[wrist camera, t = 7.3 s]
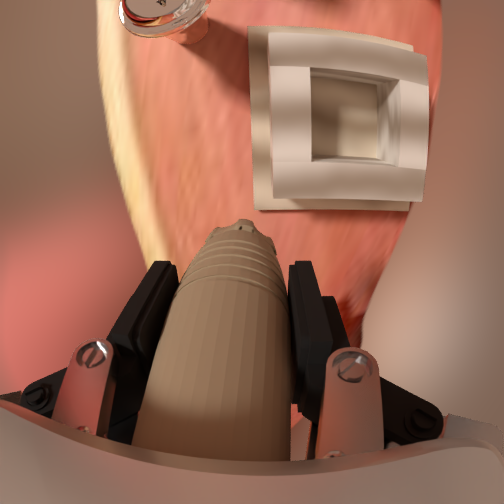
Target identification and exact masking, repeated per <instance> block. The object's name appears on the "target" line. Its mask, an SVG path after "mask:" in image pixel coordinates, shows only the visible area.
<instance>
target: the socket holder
mask: <svg viewBox="0 0 504 504" xmlns="http://www.w3.org/2000/svg"><path fill="white" fill-rule="evenodd" d="M247 27H248V52H249V78H250V105H251V132H252V160H253V190H254V210H293V209H337V210H388V211H409V206H410V201H412V202H422V200H423V194H424V186H425V176H426V166H427V154H428V136H429V86H428V68H427V56H425V55H422V54H419V53H415V52H413V46H412V45H409V44H405V43H401V42H397V41H393V40H389V39H385V38H380V37H376V36H371V35H365V34H360V33H354V32H348V31H341V30H333V29H324V28H313V27H298V26H247Z"/></svg>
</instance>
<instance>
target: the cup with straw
mask: <svg viewBox="0 0 504 504" xmlns="http://www.w3.org/2000/svg"><path fill="white" fill-rule="evenodd" d="M210 2H211V0H120V3H119V10H118V11H119V18H120V20H121V22H122V24H123V25H124V27H125V28H126V29H127V30H128V31H129V32H131V33H132V34H134V35H136V36H139V37H144V38H160V37H167V38H169V39H171V40H173V41H176V42H178V43H180V44H193V43H196V42H198V41H199V40H201V39H202V38H203V37H204V36H205V35H206V33H207V31H208V28H209V24H208V19H207V13H206V9H207V8H208V6H209V4H210Z"/></svg>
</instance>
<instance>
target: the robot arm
mask: <svg viewBox="0 0 504 504" xmlns="http://www.w3.org/2000/svg"><path fill="white" fill-rule="evenodd" d="M178 285H179V280H178V275H177V269H176V266H175V265H172V264H171V262H170V261H154V263H153V264H152V266H151V267H150V269H149V270H148V272H147V273H146V275H145V277H144V278H143V280H142V281H141V283H140V285H139V286H138V288H137V289H136V291H135V293H134V294H133V295H132V296H131V298H130V299H129V301H128V302H127V304H126V306H125V307H124V309H123V311H122V312H121V314H120V316H119V317H118V319H117V321H116V323H115V325H114V326H113V328H112V329H111V331H110V333H109V335H108V336H107V338H106V340H105V339H100V338H95V339H90V340H87V341H85V342H83V343H81V344H80V345H79V346H78V347H77V348H76V349H75V351H74V352H73V354H72V357H71V360H70V362H69V365H68V367H66V368H64V369H62V370H60V371H58V372H55V373H53V374H51V375H49V376H47V377H44V378H42V379H40V380H37V381H35V382H33V383H31V384H30V385H28V386H27V387H26V388H25V389H24V391H23V393H22V392H21V391H17V392H12V393H8V394H3V395H0V504H504V458H503V456H502V451H503V435H502V432H501V430H500V429H499V428H498V427H497V426H495V425H493V424H490V423H485V422H480V421H476V420H471V419H468V418H464V417H460V416H455V415H452V414H448V415H447V416H442V413H441V412H440V411H439V409H438V408H437V407H436V406H434V405H433V404H431V403H430V402H428V401H425V400H424V399H422V398H420V397H418V396H416V395H413V394H412V393H410V392H408V391H406V390H404V389H402V388H401V387H399V386H396V385H395V384H393V383H391V382H389V381H387V380H385V379H384V378H382V377H380V376H379V368H378V364H377V361H376V360H375V358H374V357H373V356H372V355H371V354H369V353H368V352H367V351H364V350H362V349H360V348H354V347H350V344H349V341H348V338H347V334H346V331H345V328H344V325H343V322H342V319H341V316H340V312H339V309H338V306H337V303H336V300H335V298H334V297H333V296H321V293H320V290H319V286H318V283H317V279H316V276H315V273H314V269H313V266H312V262H311V261H295V265H289V279H288V303H289V312H290V324H291V403H292V404H297V407H298V412H302V415H303V416H304V417H306V418H307V419H309V420H310V428H309V436H308V442H307V449H306V455H305V460H300V461H273V462H259V461H231V460H217V459H206V458H197V457H190V456H182V455H176V454H170V453H164V452H159V451H154V450H149V449H144V448H140V447H135V446H131V444H132V440H133V436H134V432H135V428H136V424H137V420H138V416H139V412H140V409H141V405H142V401H143V398H144V394H145V390H146V386H147V382H148V378H149V375H150V371H151V367H152V364H153V360H154V356H155V353H156V349H157V346H158V342H159V339H160V336H161V332H162V329H163V326H164V322H165V319H166V316H167V313H168V310H169V307H170V304H171V302H172V299H173V297H174V294H175V292H176V290H177V287H178Z"/></svg>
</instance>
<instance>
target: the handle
mask: <svg viewBox="0 0 504 504" xmlns="http://www.w3.org/2000/svg"><path fill="white" fill-rule="evenodd" d="M205 242H206V244H205V245H204V246H203V247H202V248H201V249H200V250H199V252H198V253H197V254H196V256H195V257H194V259H193V260H192V262H191V263H190V265H189V267H188V268H187V270H186V272H185V273H184V275H183V277H182V279H181V281H180V283H179V285H178V287H177V290H176V292H175V294H174V297H173V299H172V302H171V304H170V307H169V310H168V313H167V316H166V319H165V322H164V326H163V329H162V332H161V336H160V339H159V342H158V346H157V349H156V353H155V356H154V360H153V364H152V367H151V371H150V375H149V378H148V382H147V386H146V390H145V394H144V398H143V401H142V405H141V409H140V412H139V416H138V420H137V424H136V428H135V432H134V436H133V440H132V444H131V446H135V447H140V448H144V449H149V450H154V451H159V452H164V453H170V454H176V455H182V456H190V457H197V458H206V459H217V460H231V461H259V462H273V461H290V439H291V437H290V436H291V434H290V433H291V432H290V431H291V324H290V312H289V303H288V297H287V291H286V286H285V282H284V278H283V274H282V271H281V268H280V265H279V262H278V260H277V257H276V255H277V254H276V249H275V246H274V243H273V241H272V239H271V238H270V237H266V236H264V235H263V234H262V233H260V232H259V231H258V230H257V229H256V228H255V226H254V223H253V222H252V221H250V220H247V219H239V220H238V221H237V222H236V223H235V224H233V225H231V226H228V227H223V228H220V227H217V228H215V229H214V230H213V231H212V232H211V233H210V235H209V236H208V238H207V239H206V241H205Z"/></svg>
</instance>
